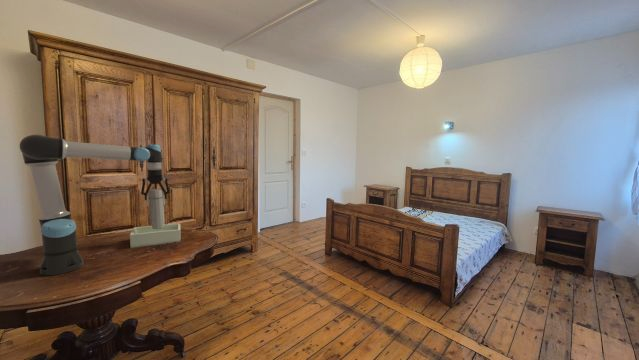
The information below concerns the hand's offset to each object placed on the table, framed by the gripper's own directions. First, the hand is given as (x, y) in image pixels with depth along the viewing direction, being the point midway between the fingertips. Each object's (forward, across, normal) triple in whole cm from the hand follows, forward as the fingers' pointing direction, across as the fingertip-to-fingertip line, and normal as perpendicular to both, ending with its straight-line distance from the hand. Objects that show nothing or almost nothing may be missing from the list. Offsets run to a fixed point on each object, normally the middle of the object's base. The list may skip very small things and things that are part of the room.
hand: (156, 204), depth 167 cm
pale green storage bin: (+24, 0, 0) cm, 24 cm away
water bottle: (+15, 0, 0) cm, 15 cm away
